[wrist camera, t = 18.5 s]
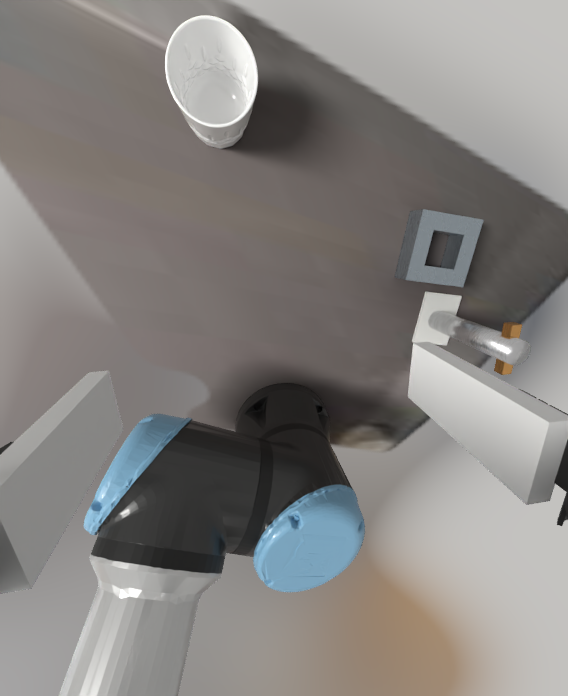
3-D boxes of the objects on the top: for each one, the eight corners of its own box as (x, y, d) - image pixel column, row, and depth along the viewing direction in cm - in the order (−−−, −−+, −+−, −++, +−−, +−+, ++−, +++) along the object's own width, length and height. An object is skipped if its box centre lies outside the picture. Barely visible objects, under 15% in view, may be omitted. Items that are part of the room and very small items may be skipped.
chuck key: (426, 339, 50) (501, 378, 36) (430, 301, 48) (512, 328, 34) (443, 337, 50) (524, 376, 36) (448, 300, 48) (536, 326, 34)
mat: (445, 344, 51) (446, 345, 51) (411, 341, 50) (413, 342, 50) (460, 295, 49) (461, 296, 48) (425, 291, 48) (426, 291, 47)
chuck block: (448, 284, 48) (463, 287, 45) (394, 277, 46) (405, 279, 43) (467, 221, 45) (483, 219, 42) (410, 211, 43) (423, 209, 40)
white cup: (257, 85, 36) (265, 33, 27) (246, 161, 39) (250, 137, 29) (186, 64, 35) (168, 0, 25) (179, 144, 37) (161, 113, 28)
